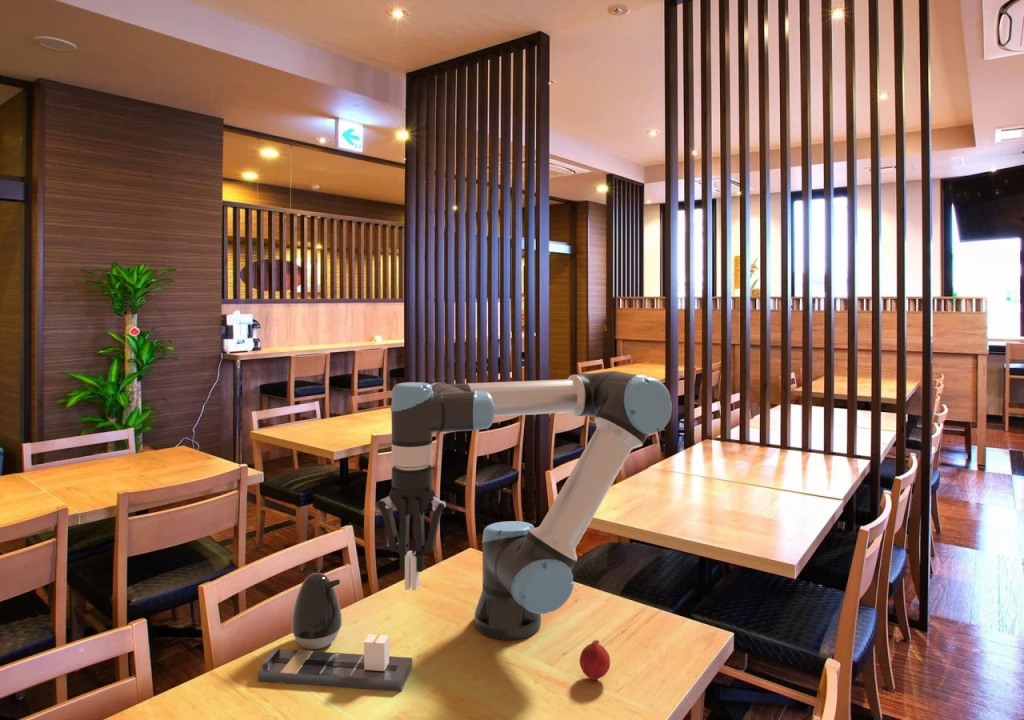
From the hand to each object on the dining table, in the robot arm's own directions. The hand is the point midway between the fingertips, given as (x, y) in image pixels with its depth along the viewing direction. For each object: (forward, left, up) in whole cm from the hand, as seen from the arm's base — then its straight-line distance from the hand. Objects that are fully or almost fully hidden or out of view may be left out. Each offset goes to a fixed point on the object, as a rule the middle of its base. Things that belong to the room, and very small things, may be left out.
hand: (412, 586), depth 121 cm
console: (+15, 0, -18) cm, 24 cm away
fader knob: (+7, 0, -16) cm, 18 cm away
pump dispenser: (+23, -11, -19) cm, 32 cm away
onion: (-35, -4, -19) cm, 40 cm away
